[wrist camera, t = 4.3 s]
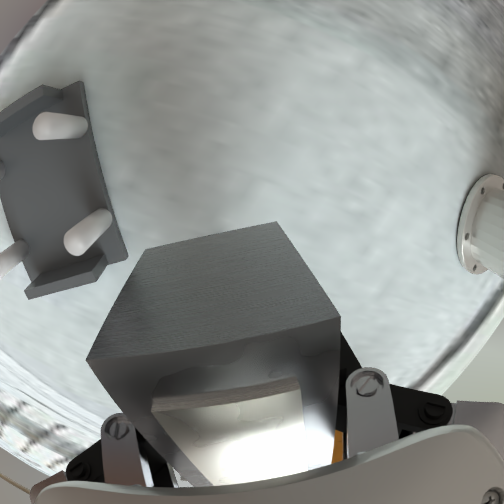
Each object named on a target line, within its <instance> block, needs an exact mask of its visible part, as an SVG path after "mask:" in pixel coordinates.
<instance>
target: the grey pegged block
mask: <svg viewBox="0 0 504 504" xmlns="http://www.w3.org/2000/svg"><path fill="white" fill-rule="evenodd" d="M0 198H1V202H2V205H3V208H4V212H5V215H6V218H7V221H8V224H9V227H10V230H11V233H12V236H13V239H14V241H15V243H14V244H12V245H11V246H9V247H8V248H7V249H5V250H4V251H3V252H1V253H0V279H2V278H3V277H4V276H5V275H6V274H7V273H8V272H9V271H11V270H12V269H13V268H14V267H15V266H16V265H17V264H19V263H20V262H21V261H22V262H23V264H24V266H25V269H26V271H27V273H28V276H29V278H30V280H31V282H32V283H31V284H30V285H29V286H28V287H27V288H26V289H25V290H24V292H25V294H26V296H27V298H28V300H29V299H33V298H37V297H40V296H44V295H48V294H52V293H55V292H59V291H63V290H67V289H70V288H74V287H78V286H82V285H86V284H89V283H93V282H96V281H97V280H98V278H99V277H100V275H101V274H102V272H103V271H104V269H105V268H106V266H107V265H109V264H113V263H117V262H120V261H124V260H126V259H127V257H128V253H127V251H126V248H125V245H124V242H123V240H122V237H121V234H120V231H119V228H118V225H117V222H116V219H115V216H114V213H113V209H112V206H111V203H110V200H109V196H108V193H107V189H106V186H105V182H104V179H103V175H102V171H101V167H100V163H99V159H98V155H97V151H96V147H95V142H94V138H93V133H92V129H91V124H90V119H89V113H88V108H87V102H86V96H85V90H84V83H83V82H81V81H78V82H76V83H73V84H71V85H69V86H67V87H65V88H63V89H61V90H60V89H56V88H53V87H49V86H45V85H41V86H39V87H38V88H36V89H34V90H33V91H31V92H29V93H28V94H26V95H25V96H23V97H21V98H20V99H18V100H17V101H15V102H14V103H12V104H11V105H10V106H8V107H7V108H5V109H4V110H2V111H1V112H0Z"/></svg>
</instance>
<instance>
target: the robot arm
mask: <svg viewBox="0 0 504 504" xmlns="http://www.w3.org/2000/svg"><path fill="white" fill-rule="evenodd" d="M457 249H458V256H459V260H460V263H461V264H462V266H463V268H465V269H466V270H467V271H468V272H470V273H472V274H481V273H483V272H485V271H487V270H488V269H489V270H491V271H492V272H494V273H495V274H497V275H498V276H500V277H501V278H503V279H504V179H503V178H502V177H500V176H498V175H494V174H487V175H485V176H483V177H481V178H480V179H479V180H478V181H477V182H476V184H475V185H474V186H473V188H472V189H471V191H470V193H469V195H468V197H467V199H466V202H465V204H464V207H463V210H462V213H461V217H460V222H459V227H458V235H457ZM335 430H337V431H340V432H342V461H339V462H336V463H333V464H329V465H326V466H323V467H319V468H315V469H312V470H308V471H304V472H300V473H296V474H291V475H286V476H282V477H277V478H271V479H266V480H260V481H254V482H247V483H239V484H230V485H220V486H207V487H180V488H179V486H178V484H177V480H176V477H175V474H174V471H173V468H172V466H171V465H170V464H169V463H168V462H167V461H166V460H165V459H164V458H163V457H162V456H161V455H160V454H159V453H158V452H157V451H156V450H155V449H154V448H153V447H152V446H151V444H150V443H149V442H148V441H147V440H146V439H145V438H144V437H143V436H142V434H141V433H140V432H139V431H138V430H137V429H136V428H135V426H134V425H133V424H132V423H131V422H130V420H129V419H128V418H127V417H126V416H125V414H124V413H116V414H114V415H111V416H110V417H108V418H107V419H106V420H105V421H104V423H103V425H102V427H101V439H100V440H99V441H97V442H96V443H95V444H93V445H92V446H91V447H89V448H88V449H87V450H85V451H84V452H82V453H81V454H80V455H78V456H77V457H75V458H74V459H73V460H71V461H70V462H69V464H68V466H67V468H66V472H64V471H63V470H62V471H60V472H58V473H56V474H55V475H53V476H51V477H49V478H47V479H46V480H43V481H41V482H39V483H37V484H35V485H34V486H33V487H32V488H31V490H30V500H31V503H32V504H504V404H502V403H497V402H470V401H457V402H456V403H450V401H449V400H448V399H446V398H445V397H444V396H441V395H438V394H432V393H428V392H423V391H418V390H413V389H409V388H405V387H400V386H396V385H392V384H389V380H388V378H387V376H386V374H385V373H384V372H383V371H381V370H379V369H376V368H372V367H365V368H362V367H361V365H360V363H359V362H358V360H357V358H356V357H355V355H354V353H353V351H352V350H351V348H350V346H349V345H348V343H347V341H346V339H345V338H344V336H343V334H342V333H341V332H340V369H339V388H338V403H337V416H336V427H335Z"/></svg>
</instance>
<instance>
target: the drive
mask: <svg viewBox="0 0 504 504" xmlns="http://www.w3.org/2000/svg"><path fill="white" fill-rule="evenodd" d="M340 332H341V316H340V314H339V313H338V311H337V310H336V308H335V307H334V305H333V304H332V302H331V300H330V299H329V297H328V296H327V294H326V293H325V291H324V290H323V288H322V287H321V285H320V284H319V282H318V281H317V279H316V278H315V276H314V275H313V273H312V272H311V270H310V269H309V267H308V266H307V265H306V263H305V262H304V260H303V259H302V257H301V256H300V254H299V253H298V251H297V250H296V248H295V247H294V246H293V244H292V243H291V241H290V240H289V238H288V237H287V235H286V234H285V233H284V231H283V230H282V228H281V227H280V225H279V224H278V223H277V222H271V223H266V224H261V225H256V226H252V227H247V228H242V229H237V230H232V231H227V232H223V233H218V234H213V235H208V236H204V237H199V238H195V239H190V240H185V241H181V242H176V243H172V244H167V245H163V246H158V247H154V248H150V249H145V251H144V252H143V254H142V256H141V257H140V259H139V261H138V262H137V264H136V266H135V267H134V269H133V271H132V273H131V274H130V276H129V278H128V280H127V281H126V283H125V285H124V287H123V288H122V290H121V292H120V294H119V296H118V297H117V299H116V301H115V303H114V305H113V307H112V308H111V310H110V312H109V314H108V316H107V318H106V320H105V322H104V324H103V326H102V328H101V330H100V331H99V333H98V335H97V337H96V340H95V342H94V344H93V346H92V348H91V350H90V352H89V354H88V356H87V358H86V361H87V363H88V364H89V366H90V368H91V369H92V371H93V372H94V374H95V375H96V377H97V378H98V379H99V381H100V382H101V384H102V385H103V387H104V388H105V389H106V391H107V392H108V393H109V395H110V396H111V398H112V399H113V400H114V402H115V403H116V404H117V405H118V407H119V408H120V409H121V411H122V412H123V413H124V414H125V416H126V417H127V418H128V419H129V420H130V422H131V423H132V424H133V425H134V426H135V428H136V429H137V430H138V431H139V432H140V433H141V434H142V436H143V437H144V438H145V439H146V440H147V441H148V442H149V443H150V444H151V446H152V447H153V448H154V449H155V450H156V451H157V452H158V453H159V454H160V455H161V456H162V457H163V458H164V459H165V460H166V461H167V462H168V463H169V464H170V465H171V466H172V467H173V468H174V469H175V470H176V471H177V472H178V473H179V474H180V475H182V476H183V477H184V478H185V479H186V480H187V481H188V482H189V483H191V484H192V485H193V486H194V487H207V486H220V485H230V484H239V483H247V482H254V481H260V480H266V479H271V478H277V477H282V476H286V475H291V474H296V473H300V472H304V471H308V470H312V469H315V468H319V467H323V466H326V465H329V464H331V462H332V454H333V446H334V437H335V427H336V416H337V403H338V388H339V369H340Z"/></svg>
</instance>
